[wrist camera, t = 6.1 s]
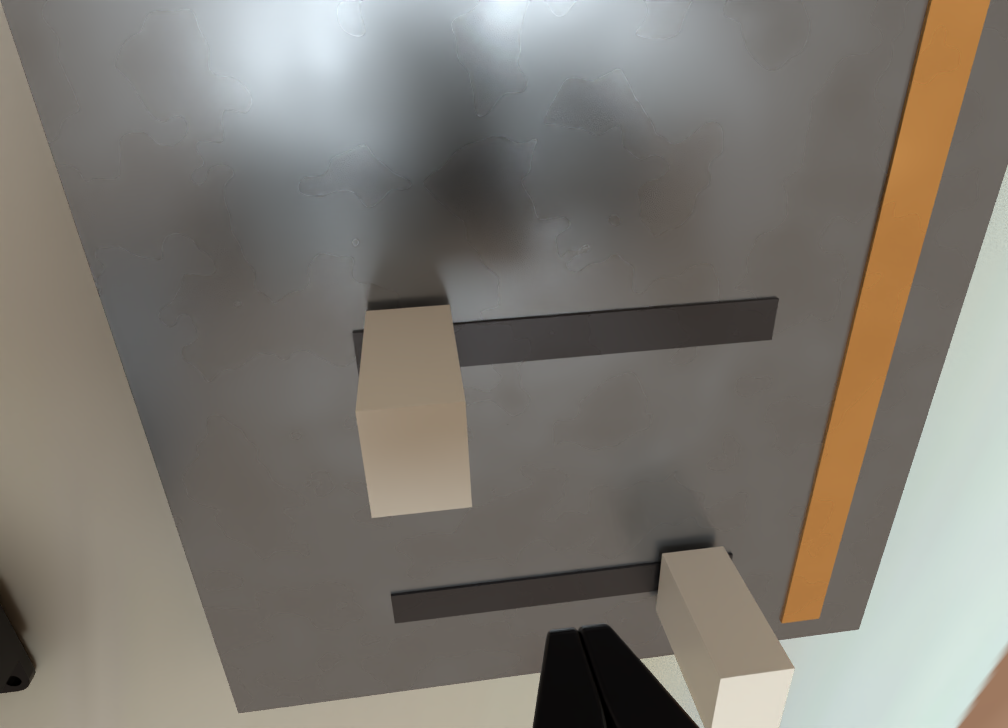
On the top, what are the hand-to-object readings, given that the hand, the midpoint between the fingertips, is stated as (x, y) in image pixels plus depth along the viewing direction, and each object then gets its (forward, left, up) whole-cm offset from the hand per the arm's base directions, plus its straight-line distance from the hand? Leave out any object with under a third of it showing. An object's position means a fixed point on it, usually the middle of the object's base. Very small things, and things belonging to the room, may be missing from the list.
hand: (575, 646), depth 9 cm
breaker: (+6, -9, -9) cm, 14 cm away
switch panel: (+2, 0, -11) cm, 12 cm away
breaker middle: (-2, 0, -9) cm, 9 cm away
